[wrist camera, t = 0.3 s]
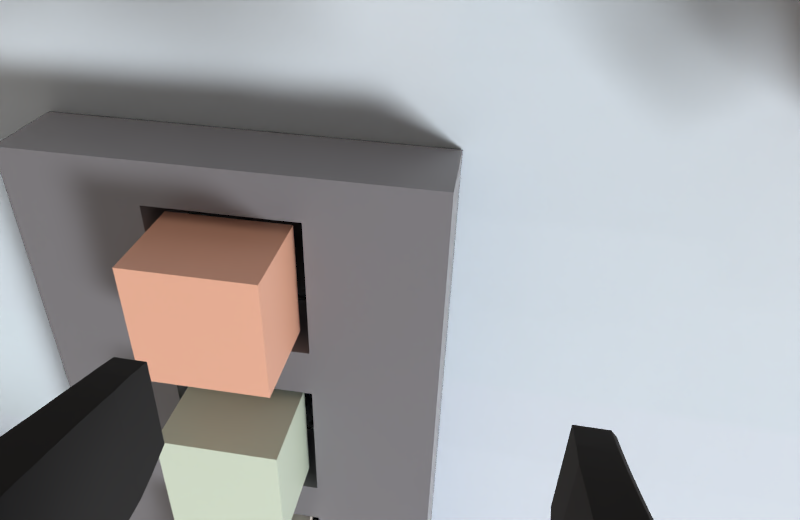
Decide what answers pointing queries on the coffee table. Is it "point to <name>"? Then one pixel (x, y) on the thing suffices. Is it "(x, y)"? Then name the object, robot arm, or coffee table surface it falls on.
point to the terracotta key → (211, 301)
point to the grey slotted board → (319, 314)
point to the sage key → (235, 455)
